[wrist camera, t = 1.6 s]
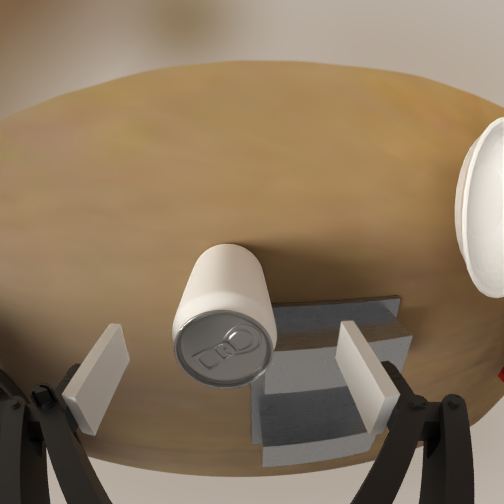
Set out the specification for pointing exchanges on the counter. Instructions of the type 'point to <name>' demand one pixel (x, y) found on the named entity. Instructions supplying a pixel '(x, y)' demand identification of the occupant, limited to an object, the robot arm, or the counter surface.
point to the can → (225, 320)
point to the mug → (501, 375)
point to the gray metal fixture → (319, 380)
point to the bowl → (483, 210)
